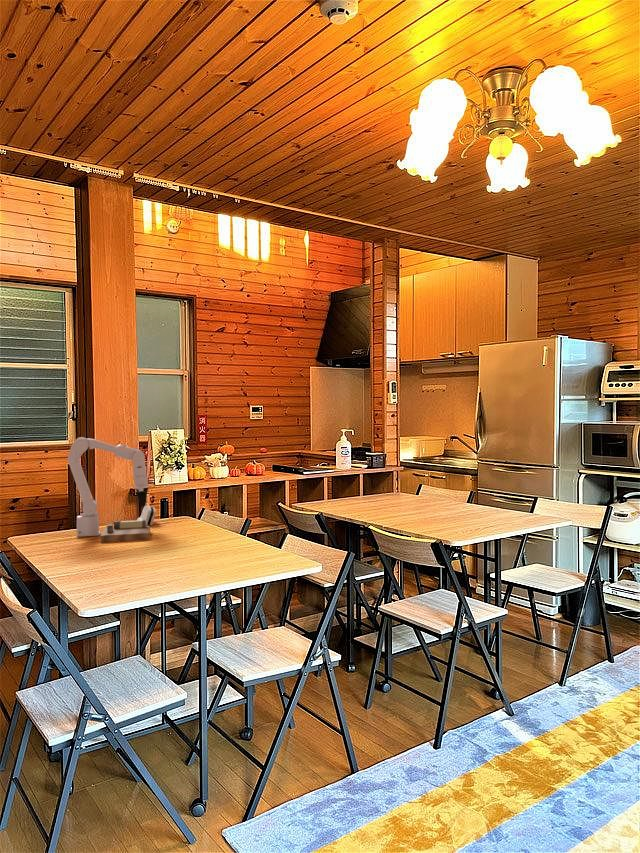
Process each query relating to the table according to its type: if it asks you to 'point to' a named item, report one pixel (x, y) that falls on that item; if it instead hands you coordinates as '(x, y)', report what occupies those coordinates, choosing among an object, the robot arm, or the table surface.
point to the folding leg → (129, 524)
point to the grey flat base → (124, 534)
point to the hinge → (148, 514)
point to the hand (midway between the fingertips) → (143, 504)
